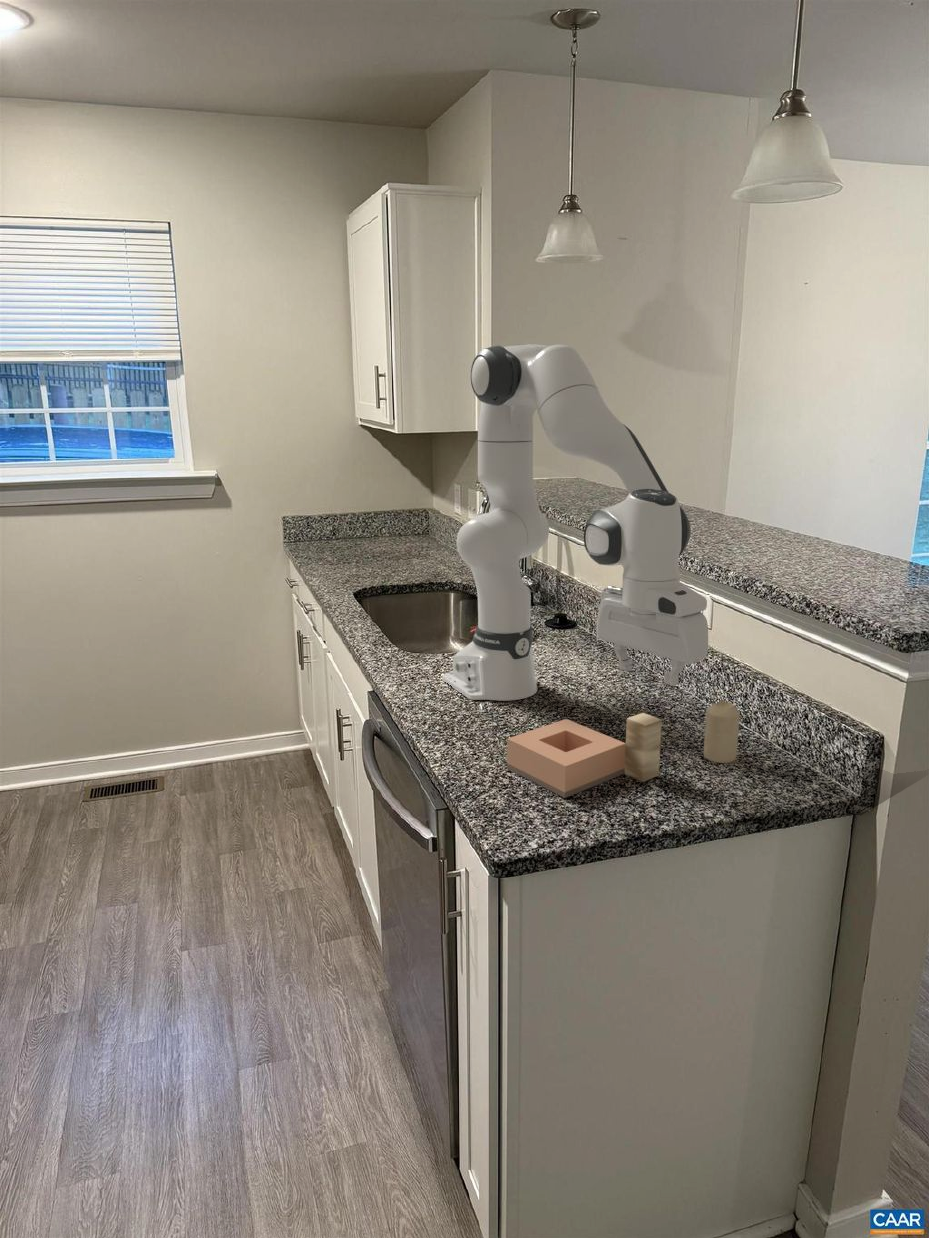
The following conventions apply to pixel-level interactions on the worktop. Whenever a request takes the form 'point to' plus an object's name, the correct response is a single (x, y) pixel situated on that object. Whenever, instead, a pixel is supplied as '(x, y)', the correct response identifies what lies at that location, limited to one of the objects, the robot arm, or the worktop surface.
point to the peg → (642, 747)
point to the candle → (721, 732)
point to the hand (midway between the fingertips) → (647, 676)
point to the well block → (566, 757)
